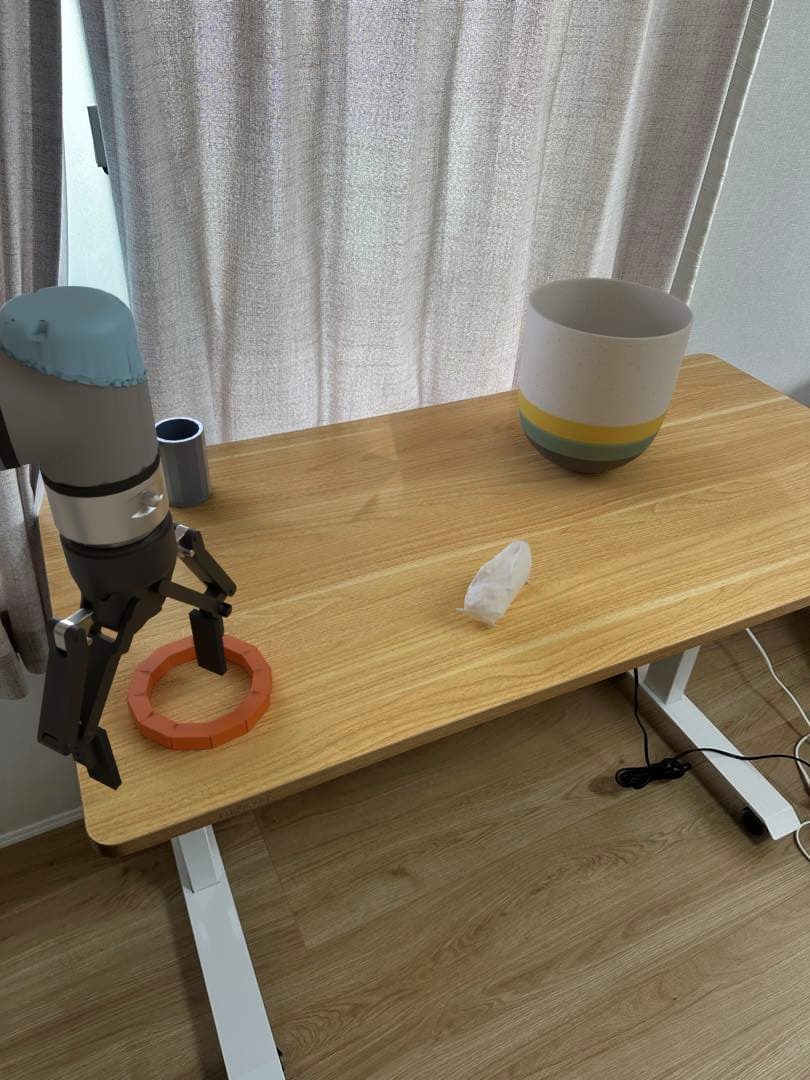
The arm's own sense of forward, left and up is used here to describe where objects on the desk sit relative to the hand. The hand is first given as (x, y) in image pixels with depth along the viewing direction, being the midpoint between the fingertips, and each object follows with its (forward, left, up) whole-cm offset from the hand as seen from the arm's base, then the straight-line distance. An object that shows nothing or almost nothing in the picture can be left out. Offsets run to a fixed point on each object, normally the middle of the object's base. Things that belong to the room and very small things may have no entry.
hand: (163, 720), depth 69 cm
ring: (0, +5, -2) cm, 6 cm away
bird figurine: (+19, +30, -2) cm, 36 cm away
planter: (+18, +63, -2) cm, 66 cm away
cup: (-22, +30, -2) cm, 38 cm away
